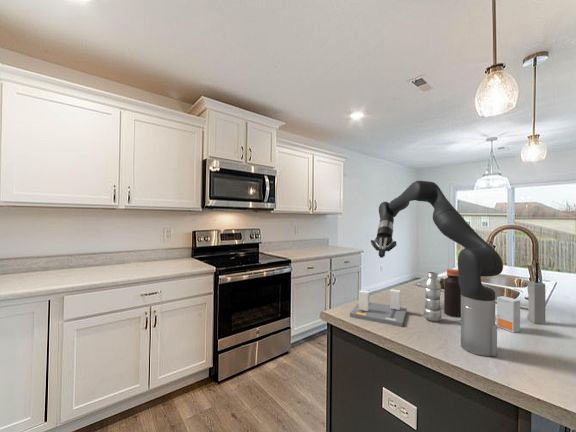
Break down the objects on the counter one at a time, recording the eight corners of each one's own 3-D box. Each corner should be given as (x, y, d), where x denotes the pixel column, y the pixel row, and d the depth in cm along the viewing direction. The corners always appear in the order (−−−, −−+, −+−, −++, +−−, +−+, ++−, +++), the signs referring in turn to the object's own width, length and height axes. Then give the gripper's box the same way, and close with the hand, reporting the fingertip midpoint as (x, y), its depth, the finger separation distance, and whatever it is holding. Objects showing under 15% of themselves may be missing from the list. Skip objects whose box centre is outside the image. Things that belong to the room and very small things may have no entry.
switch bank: (406, 311, 121) (406, 307, 121) (402, 326, 104) (402, 322, 104) (360, 303, 131) (360, 300, 131) (349, 316, 114) (349, 313, 114)
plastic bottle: (444, 323, 107) (444, 275, 107) (426, 322, 108) (426, 274, 108) (438, 318, 113) (438, 271, 113) (421, 316, 115) (421, 271, 115)
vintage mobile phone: (537, 320, 112) (537, 261, 112) (545, 325, 107) (545, 263, 107) (526, 319, 113) (527, 261, 113) (534, 323, 108) (534, 263, 108)
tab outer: (369, 309, 118) (369, 291, 118) (367, 311, 115) (367, 293, 116) (360, 307, 120) (360, 290, 120) (358, 309, 117) (358, 291, 117)
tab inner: (400, 307, 120) (400, 290, 120) (399, 309, 118) (399, 292, 118) (391, 306, 122) (391, 289, 122) (390, 308, 119) (390, 290, 120)
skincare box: (496, 326, 105) (496, 296, 105) (503, 325, 106) (503, 295, 106) (513, 333, 99) (513, 301, 99) (520, 331, 100) (520, 300, 101)
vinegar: (458, 318, 113) (459, 272, 113) (441, 314, 118) (442, 269, 118) (464, 315, 117) (464, 270, 117) (447, 311, 122) (447, 268, 122)
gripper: (371, 225, 140) (366, 250, 129) (398, 226, 133) (395, 252, 122) (373, 235, 144) (368, 260, 133) (399, 235, 138) (396, 262, 127)
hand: (381, 256), depth 128 cm, fingers closed
